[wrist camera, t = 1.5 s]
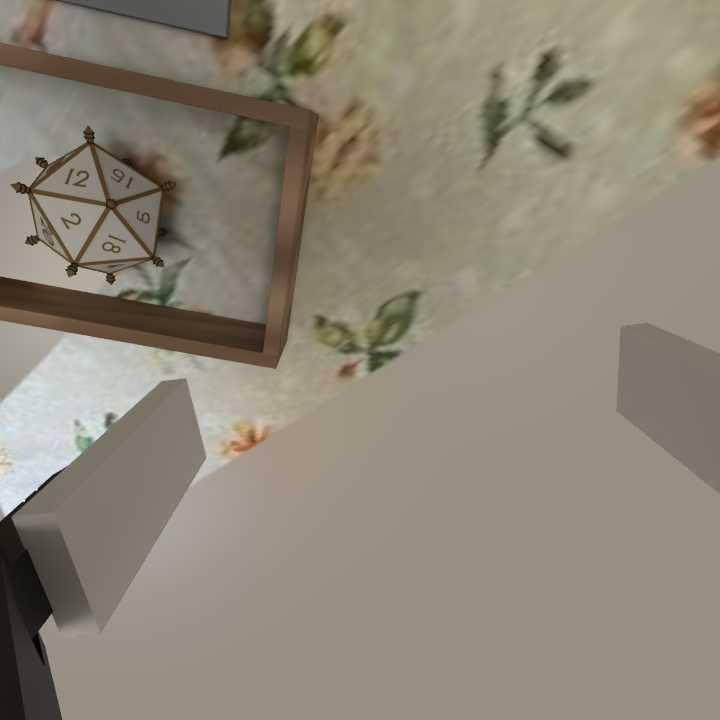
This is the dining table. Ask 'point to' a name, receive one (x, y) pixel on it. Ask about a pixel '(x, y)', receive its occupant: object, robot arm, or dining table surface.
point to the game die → (96, 210)
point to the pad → (171, 13)
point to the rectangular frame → (161, 322)
